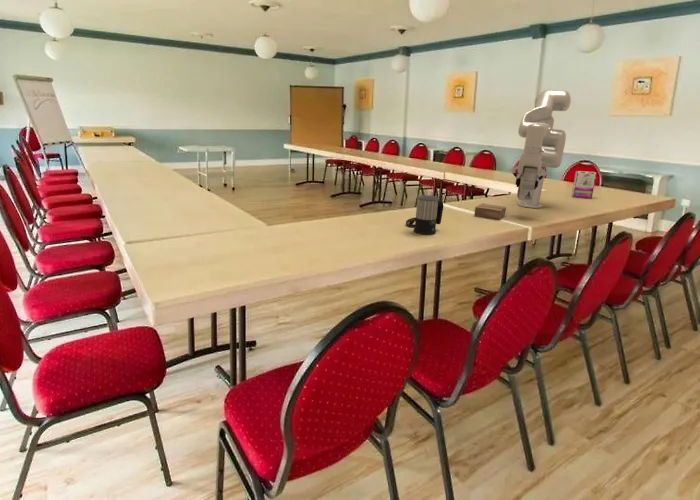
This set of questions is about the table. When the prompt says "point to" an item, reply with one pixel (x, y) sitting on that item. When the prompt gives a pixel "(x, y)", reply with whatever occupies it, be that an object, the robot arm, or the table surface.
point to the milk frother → (426, 215)
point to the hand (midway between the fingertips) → (526, 187)
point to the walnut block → (490, 211)
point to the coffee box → (527, 183)
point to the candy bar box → (583, 184)
